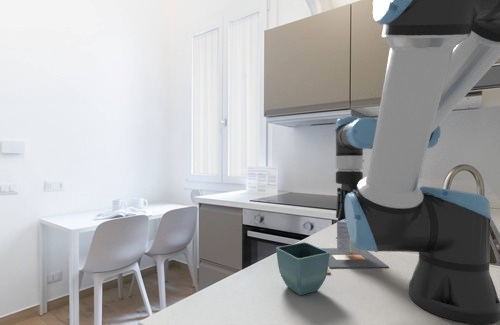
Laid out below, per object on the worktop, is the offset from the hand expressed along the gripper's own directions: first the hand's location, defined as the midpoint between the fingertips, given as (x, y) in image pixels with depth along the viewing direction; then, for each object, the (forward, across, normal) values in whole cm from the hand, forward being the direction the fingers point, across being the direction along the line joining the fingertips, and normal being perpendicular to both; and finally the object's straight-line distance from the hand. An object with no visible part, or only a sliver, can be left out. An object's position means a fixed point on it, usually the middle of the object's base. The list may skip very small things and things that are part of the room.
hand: (348, 247), depth 84 cm
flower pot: (+4, -20, +18) cm, 27 cm away
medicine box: (+1, 0, 0) cm, 1 cm away
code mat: (+3, 0, 0) cm, 3 cm away
